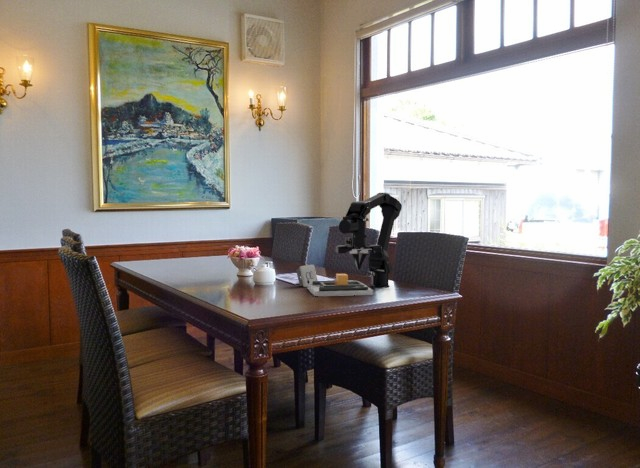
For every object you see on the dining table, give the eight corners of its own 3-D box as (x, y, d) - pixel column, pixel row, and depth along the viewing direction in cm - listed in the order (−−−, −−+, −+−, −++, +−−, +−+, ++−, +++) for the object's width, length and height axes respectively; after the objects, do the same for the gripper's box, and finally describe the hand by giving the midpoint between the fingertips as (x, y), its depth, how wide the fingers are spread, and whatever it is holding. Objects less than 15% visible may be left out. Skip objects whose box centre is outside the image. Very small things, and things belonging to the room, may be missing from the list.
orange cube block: (345, 285, 237) (345, 273, 237) (347, 287, 232) (348, 275, 232) (335, 285, 236) (336, 273, 236) (338, 287, 231) (338, 275, 231)
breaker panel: (361, 287, 245) (362, 279, 245) (373, 294, 228) (373, 286, 227) (307, 288, 241) (307, 280, 241) (314, 296, 223) (314, 287, 223)
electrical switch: (305, 287, 244) (303, 266, 244) (296, 287, 247) (294, 266, 247) (318, 285, 251) (317, 264, 251) (309, 285, 254) (308, 264, 254)
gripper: (375, 230, 243) (374, 266, 245) (332, 231, 240) (332, 267, 241) (382, 232, 232) (382, 270, 234) (338, 233, 229) (338, 271, 230)
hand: (358, 269), depth 235 cm, fingers closed
